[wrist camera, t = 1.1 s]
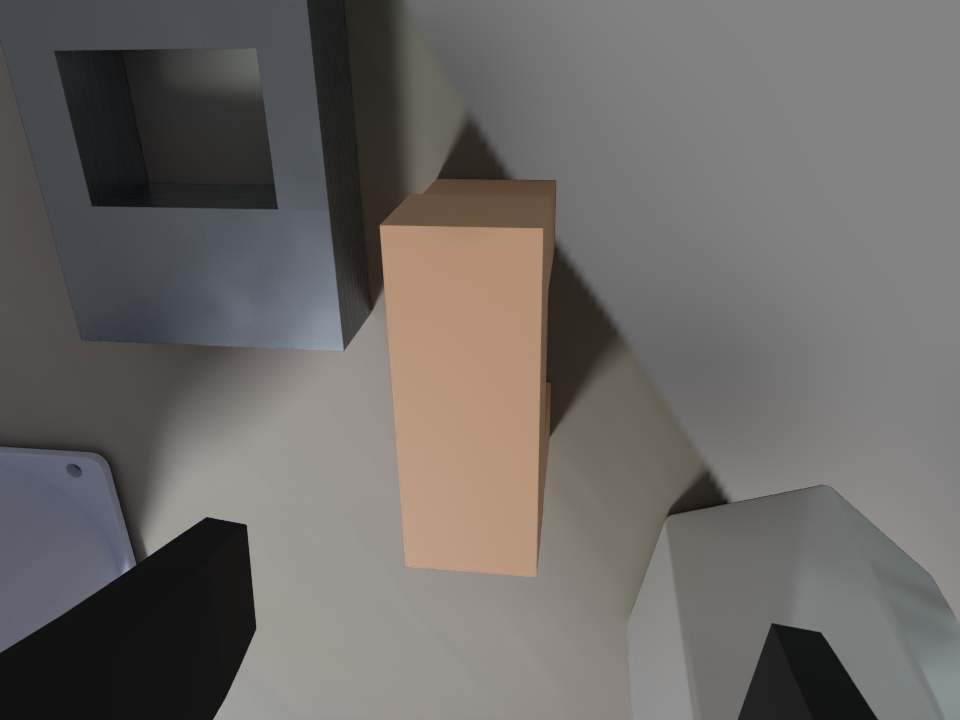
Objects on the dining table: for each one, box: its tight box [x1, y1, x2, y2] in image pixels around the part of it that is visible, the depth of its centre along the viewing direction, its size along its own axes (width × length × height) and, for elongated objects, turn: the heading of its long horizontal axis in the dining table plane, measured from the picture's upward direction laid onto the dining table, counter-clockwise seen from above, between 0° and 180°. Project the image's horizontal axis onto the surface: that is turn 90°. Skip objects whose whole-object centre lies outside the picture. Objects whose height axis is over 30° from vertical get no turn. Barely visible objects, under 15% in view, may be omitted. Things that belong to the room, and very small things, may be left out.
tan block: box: [380, 179, 556, 577], centre depth 18 cm, size 8×3×6 cm, turn 1°
